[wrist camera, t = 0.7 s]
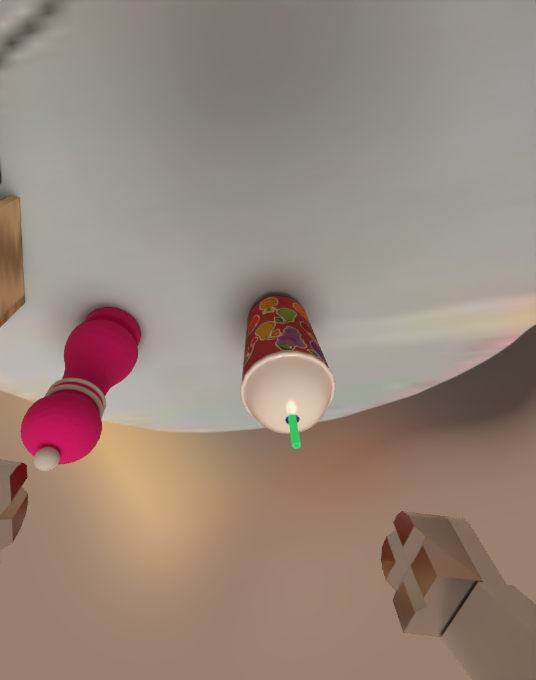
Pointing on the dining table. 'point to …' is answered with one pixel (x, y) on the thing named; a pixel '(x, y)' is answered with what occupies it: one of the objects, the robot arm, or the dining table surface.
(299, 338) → the smoothie
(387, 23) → the dining table surface
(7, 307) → the counter cubby
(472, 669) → the robot arm
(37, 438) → the pepper mill
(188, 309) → the dining table surface
